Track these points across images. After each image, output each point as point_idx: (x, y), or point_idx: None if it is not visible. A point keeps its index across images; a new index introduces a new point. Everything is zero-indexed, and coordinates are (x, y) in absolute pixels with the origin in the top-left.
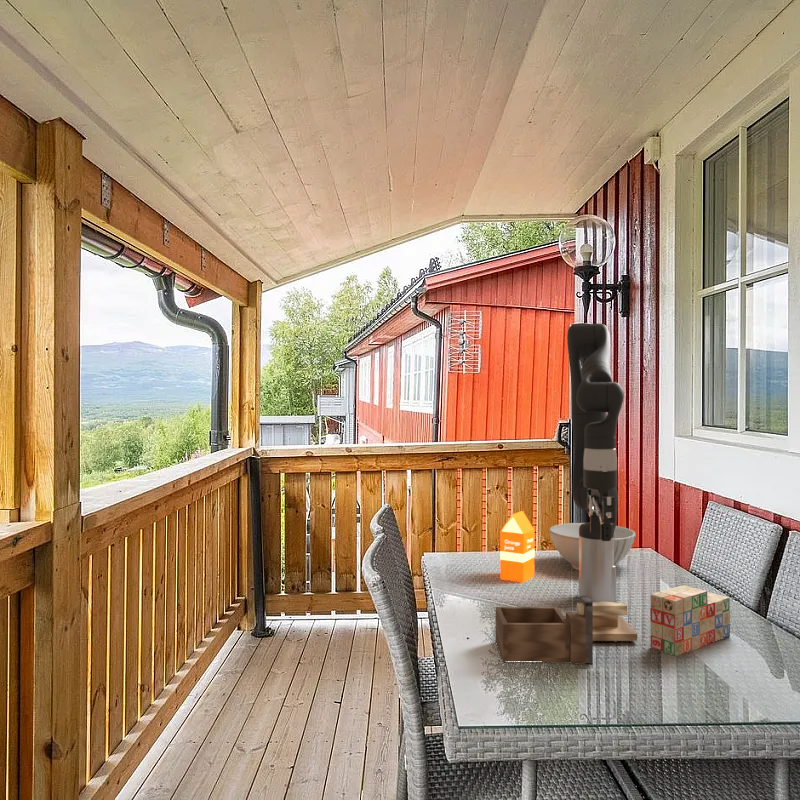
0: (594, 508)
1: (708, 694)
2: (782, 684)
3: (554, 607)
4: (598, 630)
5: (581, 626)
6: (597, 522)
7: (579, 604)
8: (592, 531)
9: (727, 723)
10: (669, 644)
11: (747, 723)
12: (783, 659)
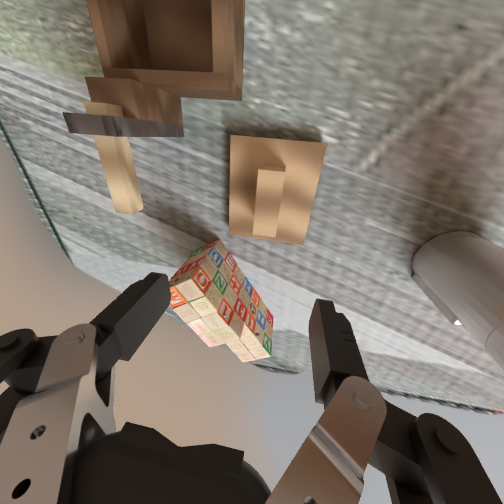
0: (227, 466)
1: (103, 233)
2: None
3: (219, 76)
4: (245, 184)
5: None
6: (316, 364)
7: (93, 105)
8: (316, 306)
9: (48, 217)
10: (195, 254)
11: (55, 233)
12: None
